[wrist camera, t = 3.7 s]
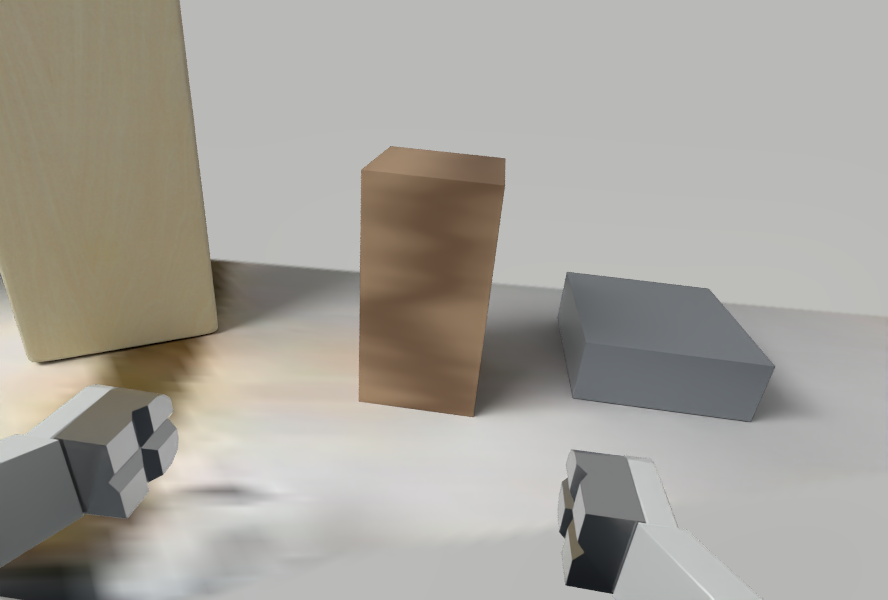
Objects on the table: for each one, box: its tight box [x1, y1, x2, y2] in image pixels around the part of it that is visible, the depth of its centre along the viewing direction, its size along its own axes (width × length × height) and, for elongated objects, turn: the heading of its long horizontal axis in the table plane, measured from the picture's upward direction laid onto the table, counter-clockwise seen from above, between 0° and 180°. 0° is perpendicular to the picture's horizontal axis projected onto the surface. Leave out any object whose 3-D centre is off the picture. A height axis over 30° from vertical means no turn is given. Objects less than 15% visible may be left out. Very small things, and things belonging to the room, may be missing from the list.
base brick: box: [558, 272, 775, 422], centre depth 26 cm, size 8×8×3 cm
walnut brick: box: [359, 146, 505, 417], centre depth 22 cm, size 5×5×10 cm
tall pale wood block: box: [0, 0, 218, 362], centre depth 22 cm, size 8×7×21 cm
